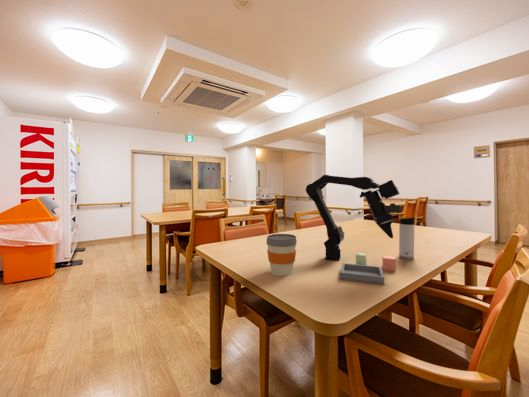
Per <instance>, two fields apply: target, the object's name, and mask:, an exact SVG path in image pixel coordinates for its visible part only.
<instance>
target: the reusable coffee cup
mask: <svg viewBox="0 0 529 397" xmlns="http://www.w3.org/2000/svg"><path fill="white" fill-rule="evenodd" d="M266 245H267V249H266V250H267V251H266V252H267V258H268V262H269V266H270V267H269V268H270V271H271V274H272V275H273V276H277V277H286V276H287V277H288V276H290V275H292V274H293V271H294V263H295V261H296V255H297V254H296V253H297V249H296V247H297V236H296V235H294V234H290V233H273V234H269V235H267V236H266Z"/></svg>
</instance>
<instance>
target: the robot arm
mask: <svg viewBox="0 0 529 397" xmlns="http://www.w3.org/2000/svg"><path fill="white" fill-rule="evenodd" d="M328 184H336V185H342V186H343V185H344V186H351V187H354V188H356V189H360V190H364V191H361V192H360V195H359V198H365V201H366V203H367V206H368V207H369V210H370V211H371V213H372V216H373V221H374V223H375V224H376V225H377V226H378V227H379V228H380V229H381V230H382V232H384V233H385V234H386V235H387V236H388V238H389V239H393V238H394V235H393V234H394V233H393V229H392V223H393V222H394V218H393V216H392V214H390V213H397V214H398V213H399V214H401V212H402V206H401V204H398V205H396V203H394V202H393V203H390V204H389V205H386V204H385V202H383V200H382V199H383V198H384V199H385V200H388V199H390V198H393V197H396V196H398V195H400V191H399V188H398V187H397V186H396V184H395V183H394V181H393V180H392V179H390V180H388V181H386V182H384V183H381V184H379V183H376V182H375V181H374V179H373V178H372V177H368V176H359V177H358V176H357V177H348V176H347V177H346V176H345V177H344V176H335V175H329V174H323V175H322V176H320V177H319V178H318V179H316V180H314V181H313V182H312V183H309V184H307V185H306V187H305V192H306V195H307V196H308V198H310V199H311V200H312V201H313V202H314V204H315V206H316V208H317V210H318V213H319V214H320V217H321V219H322V221H323V223H324V225H325V228H326V235H327V238H328V239H327V240H326V241H324V243H323V245H324V248H325V257H324V259H325V260H329V261H340V259H341V255H342V254H341V248H340V245H341V243H342V242H343V241H344V239H345V234H346V233H345V232H344V231H343V228H342V226H341V225H339V226H338V225H337V224H336V223H335V221H334V218H333V216H332V214H331V213H330V211H329V208H328V205H327V204H326V203H325V200H324V197H323V189H324V188H325V187H326V186H327V185H328ZM371 189H372V190H373V191H372V190H371ZM365 190H367V191H365Z"/></svg>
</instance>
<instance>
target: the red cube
mask: <svg viewBox="0 0 529 397" xmlns="http://www.w3.org/2000/svg"><path fill="white" fill-rule="evenodd" d="M381 263H382V266H381V267H382V271H393V272H396V271H397V270H396V266H397V265H396V258H395V256H394V255H383V254H382V262H381Z"/></svg>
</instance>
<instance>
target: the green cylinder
mask: <svg viewBox="0 0 529 397" xmlns="http://www.w3.org/2000/svg"><path fill="white" fill-rule="evenodd" d="M367 258H368V257H367V254H366V253H360V252H359V253H355V264H358V265H367V262H368V261H367Z"/></svg>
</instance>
